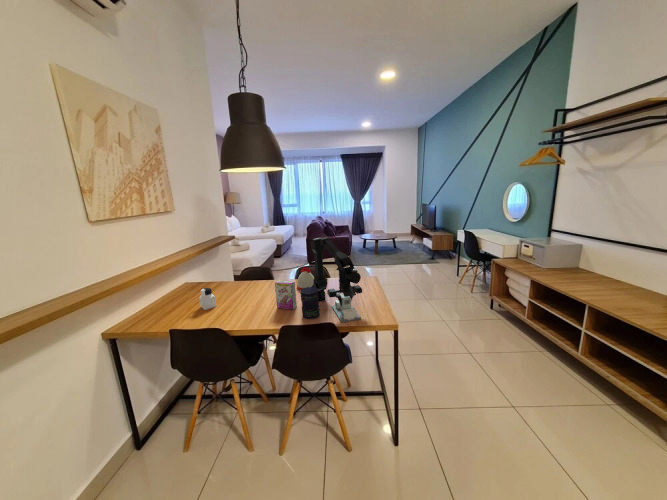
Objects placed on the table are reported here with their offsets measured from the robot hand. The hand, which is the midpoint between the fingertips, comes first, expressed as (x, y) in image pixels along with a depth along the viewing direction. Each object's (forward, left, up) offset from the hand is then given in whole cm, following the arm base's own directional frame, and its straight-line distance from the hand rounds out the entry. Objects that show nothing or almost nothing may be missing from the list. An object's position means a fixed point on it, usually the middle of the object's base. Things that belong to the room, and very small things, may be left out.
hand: (345, 305), depth 150 cm
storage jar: (-19, +4, -5) cm, 20 cm away
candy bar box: (-31, +19, -5) cm, 37 cm away
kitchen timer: (-14, +50, -5) cm, 52 cm away
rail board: (0, 0, -4) cm, 5 cm away
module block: (0, 0, -2) cm, 2 cm away
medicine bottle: (-78, +38, -5) cm, 87 cm away
